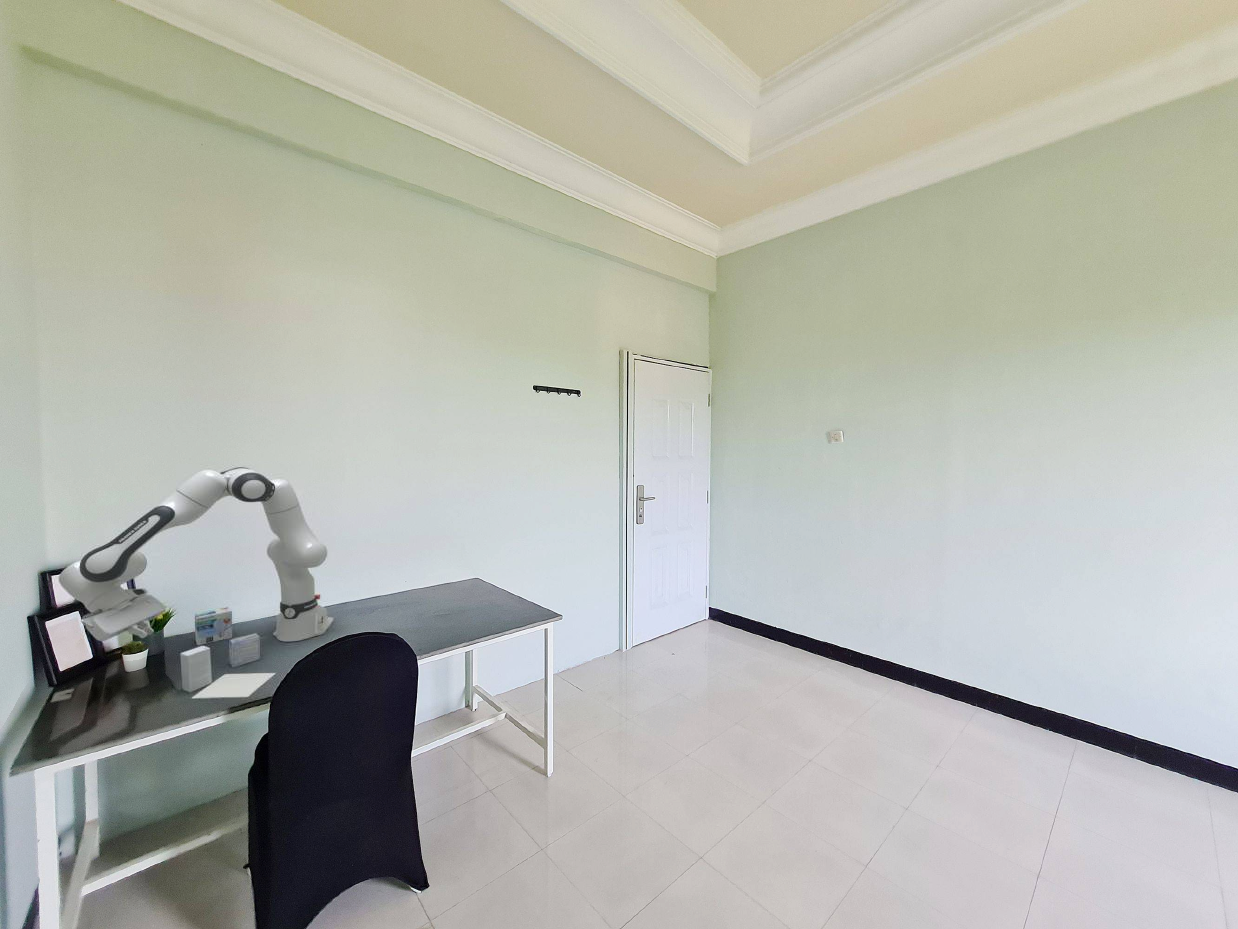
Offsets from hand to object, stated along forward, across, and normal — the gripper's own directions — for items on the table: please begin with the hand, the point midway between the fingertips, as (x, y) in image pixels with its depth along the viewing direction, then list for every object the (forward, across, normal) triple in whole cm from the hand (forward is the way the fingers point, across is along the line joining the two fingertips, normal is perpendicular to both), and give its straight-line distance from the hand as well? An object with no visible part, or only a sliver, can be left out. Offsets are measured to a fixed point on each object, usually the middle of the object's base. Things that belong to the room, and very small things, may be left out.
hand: (148, 635), depth 147 cm
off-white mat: (+30, 0, -6) cm, 30 cm away
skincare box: (+22, 0, +3) cm, 22 cm away
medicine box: (+25, +16, 0) cm, 29 cm away
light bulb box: (+8, +35, +17) cm, 40 cm away
